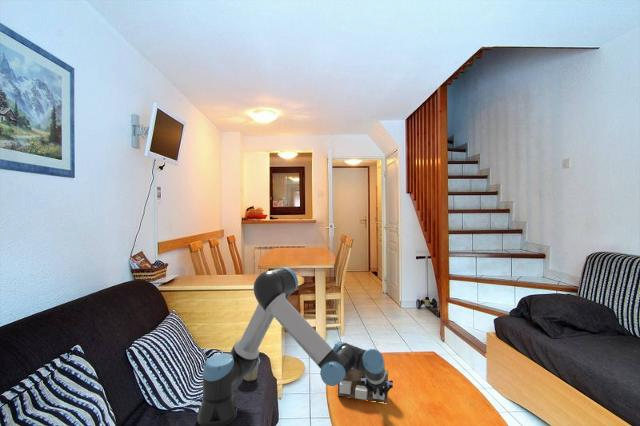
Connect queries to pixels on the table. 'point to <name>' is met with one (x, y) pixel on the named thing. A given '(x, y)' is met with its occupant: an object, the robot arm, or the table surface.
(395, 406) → the table surface
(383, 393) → the right button
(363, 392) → the middle button
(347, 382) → the left button
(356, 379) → the console
